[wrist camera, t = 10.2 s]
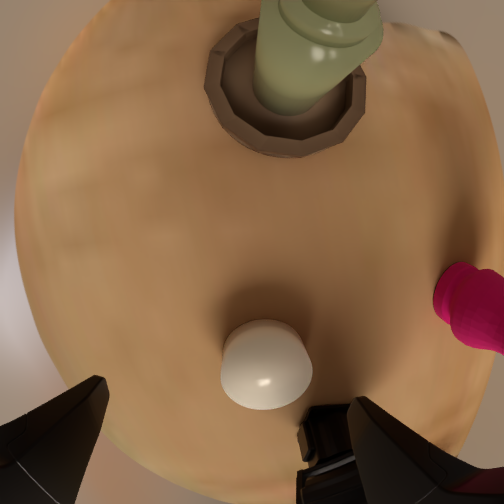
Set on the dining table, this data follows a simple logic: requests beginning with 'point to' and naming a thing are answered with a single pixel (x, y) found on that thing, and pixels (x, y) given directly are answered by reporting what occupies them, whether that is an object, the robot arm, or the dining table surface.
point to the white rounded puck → (265, 365)
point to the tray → (266, 122)
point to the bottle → (310, 49)
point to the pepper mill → (472, 305)
